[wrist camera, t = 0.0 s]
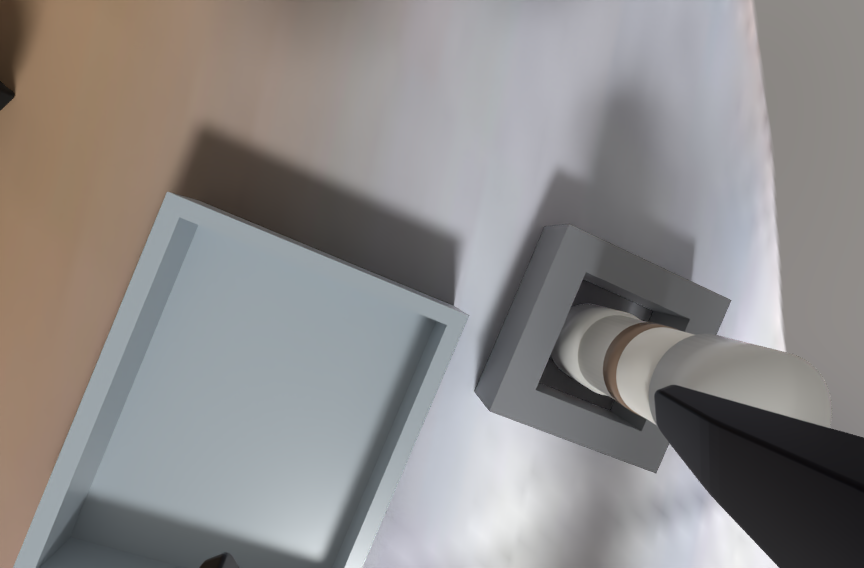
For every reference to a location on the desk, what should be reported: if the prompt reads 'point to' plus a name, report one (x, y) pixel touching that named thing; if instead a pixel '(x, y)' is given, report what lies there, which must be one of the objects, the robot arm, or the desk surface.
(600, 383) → the light bulb
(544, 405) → the socket block
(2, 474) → the desk surface
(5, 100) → the digital camera
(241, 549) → the tray
